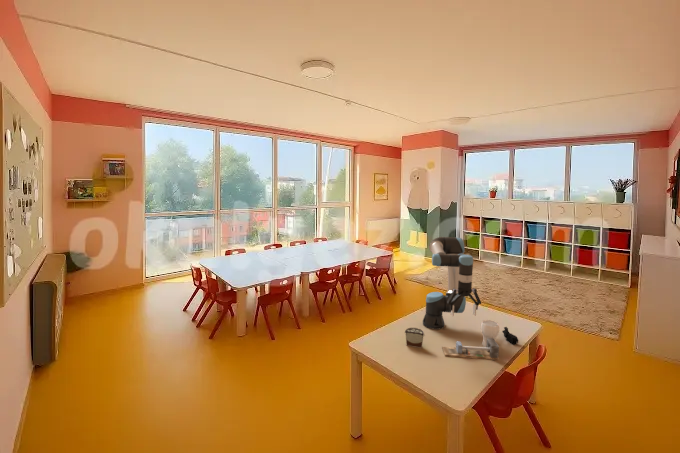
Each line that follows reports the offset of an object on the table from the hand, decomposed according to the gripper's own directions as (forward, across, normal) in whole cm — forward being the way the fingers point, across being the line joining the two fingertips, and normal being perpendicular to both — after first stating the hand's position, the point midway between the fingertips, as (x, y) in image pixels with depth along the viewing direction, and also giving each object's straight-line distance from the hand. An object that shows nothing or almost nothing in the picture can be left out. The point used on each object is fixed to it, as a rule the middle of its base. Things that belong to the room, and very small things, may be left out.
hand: (463, 315), depth 194 cm
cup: (+23, +20, +5) cm, 31 cm away
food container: (+23, -27, +9) cm, 36 cm away
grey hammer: (+22, +5, -5) cm, 23 cm away
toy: (+23, +37, +11) cm, 45 cm away
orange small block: (+21, +1, -7) cm, 23 cm away
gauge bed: (+23, +3, -4) cm, 23 cm away
